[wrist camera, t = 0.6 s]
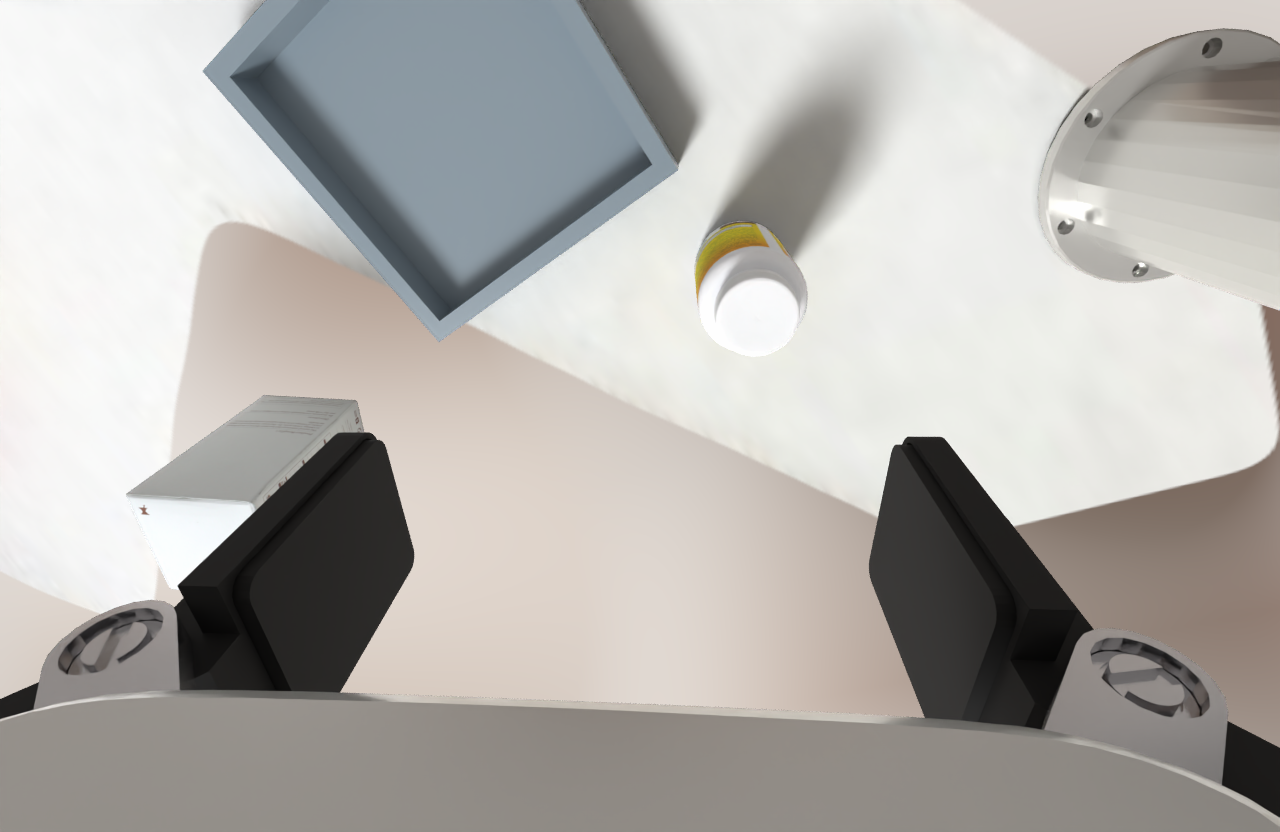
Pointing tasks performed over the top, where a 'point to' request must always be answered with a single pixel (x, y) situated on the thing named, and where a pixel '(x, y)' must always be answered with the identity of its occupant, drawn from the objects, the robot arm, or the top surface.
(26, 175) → the top surface
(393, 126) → the tray
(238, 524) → the supplement box
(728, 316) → the supplement bottle
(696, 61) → the top surface
